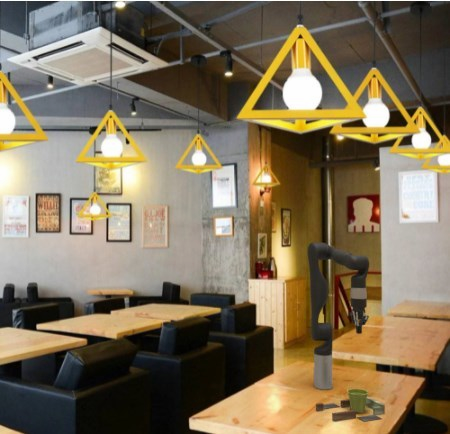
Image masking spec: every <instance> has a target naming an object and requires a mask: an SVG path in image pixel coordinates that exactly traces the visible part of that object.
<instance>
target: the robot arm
mask: <svg viewBox="0 0 450 434" xmlns="http://www.w3.org/2000/svg"><path fill="white" fill-rule="evenodd" d="M325 260H331V261H333V262H334V263H335V264H337V265H340V266H343V267H346V269H348V270H351V271H357V272H356V273H355V274H353V275H352V276H351V277H350V292H349V293H350V307H351V308H352V309H351V312H350V311H349V313H348V315H349V317H350V318H351V319H350V320H351V323H352V324H354V325H355V333H356V334H358V335H361V334H362V333H363V326H366V323H367V321H368V319H369V317H370V316H369V315H367V314H366V308H367V304H368V298H367V295H368V294H367V277H368V272H369V270H370V269H369V268H370V260H369V258H368V257H367V256H366V255H354V254H353V253H351V252H349V251H344V250H340V249H337V248H335V247H333V246H331V245H330V244H328V243H326V242H310V243H309V244H308V247H307V261H308V268H309V269H308V270H309V283H310V284H309V289H310V290H309V292H310V293H309V295H310V309H311V314H310V315H311V316H310V318H311V319H310V336H311V338H312V341H315V342H319V341H320V342H321V341H322V342H323V343H322V344H320V345H317V346H316V347H315V348H314V349H313V350H314V351H313V357H314V359H313V361H314V363H313V364H314V365H313V366H314V367H313V386H314V388H315V389H317V390H331V389H333V339H334V336H333V335H334V329H333V325H332V323H331V322H319V317H320V315H321V311H322V310H323V308H324V306H325V305H326V303H327V301H328V298H329V285H328V283H327V280H326V279H325V277H324V274H323V272H322V271H321V270H320V263H319V261H325Z"/></svg>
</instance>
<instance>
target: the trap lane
mask: <svg viewBox="0 0 450 434" xmlns="http://www.w3.org/2000/svg"><path fill="white" fill-rule="evenodd" d="M349 407H350V408H351V406H350V400H349V398H348V399H341V400H340V405H338V404H337V403H334V402H332V403H323V402H319V403H318V402H316V403H315V411H316V412H323V411H324V410H329V409H333V408H334V409H335V408H343V409H345V408H349ZM366 407H367V408H369V409H370V410H372V414H370V415H364V416H363V415H362V416H357V412H356V411H355V410H351V409H350V410H346V411H338V412H332V415H331V420H332V421H333V422H339V421H345V420H351V419H352V420H353V419H358V420H360V421H362V422H364V423H365V422H373V421H377V420H382V417H380V416H379V415H385V414H386V412H385V410H386V406H385V404H384V403H382V402H380V401H379V400H375V399H374V398H371V397H369V396H368V395H367V399H366Z"/></svg>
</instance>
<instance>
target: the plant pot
mask: <svg viewBox="0 0 450 434" xmlns="http://www.w3.org/2000/svg"><path fill="white" fill-rule="evenodd" d="M346 393H347V395H348V399H349V400H350V406H351V407H350V410H355V411H356V413H357V414H364V413H365V411H366V407H367V406H366V399H367V396H368V394H369V391H368V390H366V389H362V388H351V389H350V388H349V389H347V390H346Z"/></svg>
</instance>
